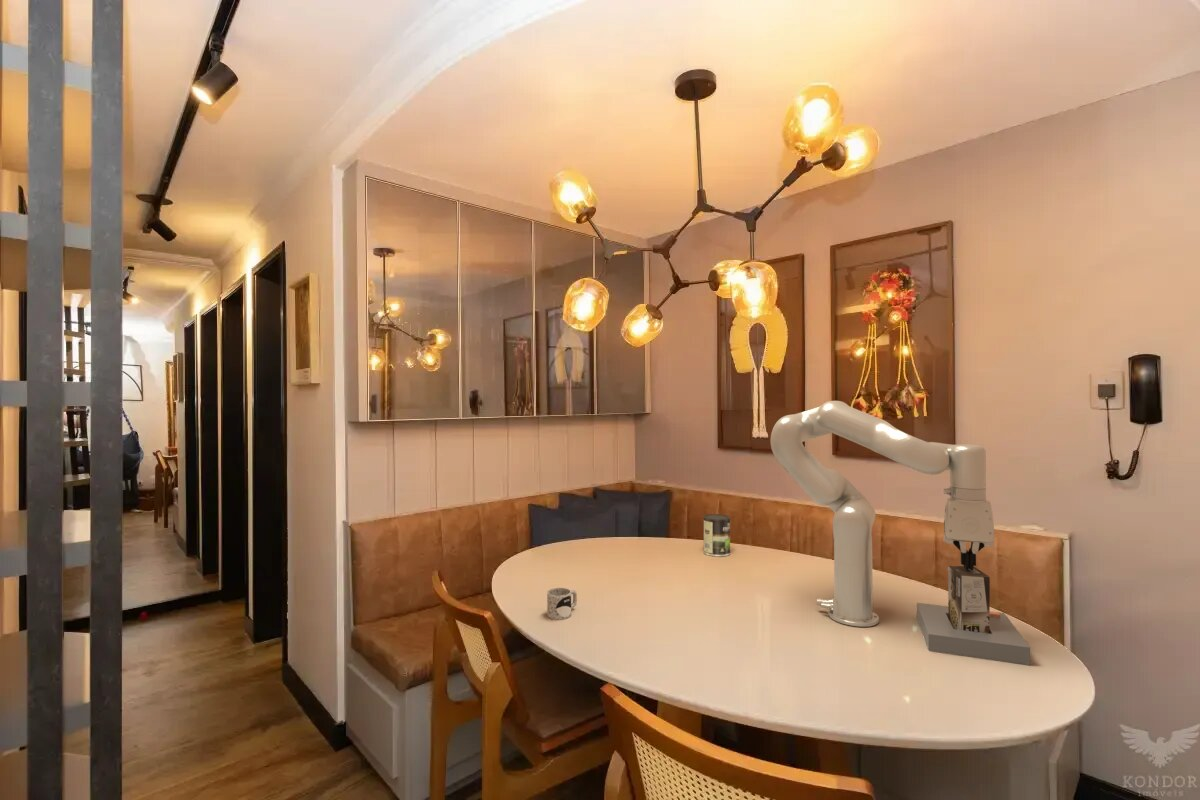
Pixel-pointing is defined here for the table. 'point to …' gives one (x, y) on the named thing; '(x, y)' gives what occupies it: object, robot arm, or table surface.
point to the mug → (560, 603)
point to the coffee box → (969, 599)
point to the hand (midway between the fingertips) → (968, 567)
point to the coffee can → (716, 535)
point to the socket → (972, 637)
